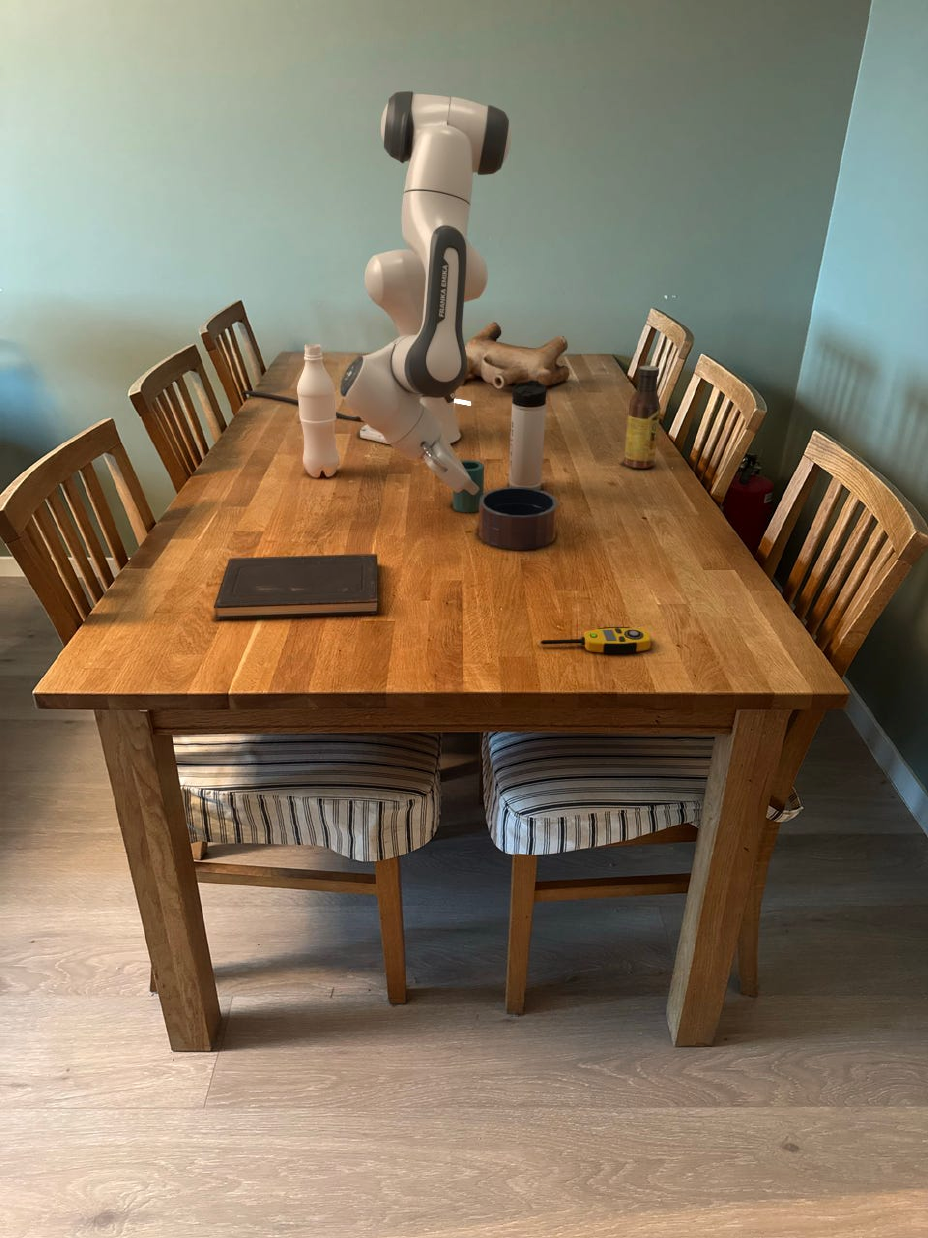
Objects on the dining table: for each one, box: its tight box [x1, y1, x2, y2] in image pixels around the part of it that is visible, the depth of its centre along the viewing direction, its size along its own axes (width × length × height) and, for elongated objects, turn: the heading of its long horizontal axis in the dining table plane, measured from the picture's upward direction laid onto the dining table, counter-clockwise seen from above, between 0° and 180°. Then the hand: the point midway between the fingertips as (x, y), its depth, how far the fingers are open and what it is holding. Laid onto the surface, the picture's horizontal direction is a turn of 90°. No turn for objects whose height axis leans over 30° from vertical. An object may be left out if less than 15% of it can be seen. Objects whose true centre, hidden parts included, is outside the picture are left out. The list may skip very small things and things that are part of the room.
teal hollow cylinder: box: [452, 459, 485, 513], centre depth 159 cm, size 6×6×8 cm
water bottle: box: [296, 343, 340, 479], centre depth 169 cm, size 7×7×25 cm
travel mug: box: [508, 380, 548, 490], centre depth 165 cm, size 6×7×20 cm
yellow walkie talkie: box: [540, 626, 652, 655], centre depth 119 cm, size 5×2×15 cm
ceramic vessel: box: [460, 321, 570, 390], centre depth 232 cm, size 13×31×25 cm
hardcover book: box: [213, 553, 379, 621], centre depth 132 cm, size 16×23×2 cm
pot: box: [478, 486, 559, 551], centre depth 150 cm, size 13×13×6 cm
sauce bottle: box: [623, 365, 661, 470], centre depth 176 cm, size 7×6×20 cm
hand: (471, 483), depth 159 cm, fingers closed on teal hollow cylinder, 5 cm apart
